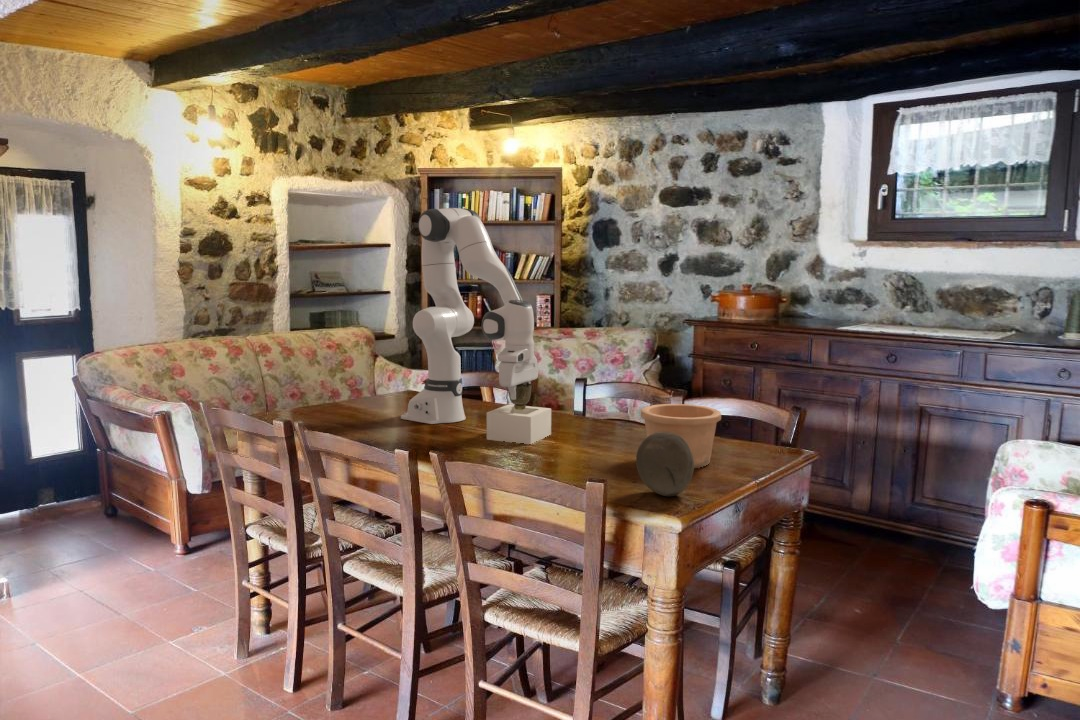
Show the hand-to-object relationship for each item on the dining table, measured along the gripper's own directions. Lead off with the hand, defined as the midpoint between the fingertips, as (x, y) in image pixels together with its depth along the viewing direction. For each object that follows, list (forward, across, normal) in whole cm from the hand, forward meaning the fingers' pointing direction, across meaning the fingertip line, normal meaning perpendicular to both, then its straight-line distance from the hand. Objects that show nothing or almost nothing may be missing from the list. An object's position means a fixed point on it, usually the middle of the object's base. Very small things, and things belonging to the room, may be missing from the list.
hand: (519, 397), depth 255 cm
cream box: (+13, 0, 0) cm, 13 cm away
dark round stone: (+13, +39, +58) cm, 71 cm away
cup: (+4, 0, 0) cm, 4 cm away
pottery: (+13, +7, +53) cm, 55 cm away
